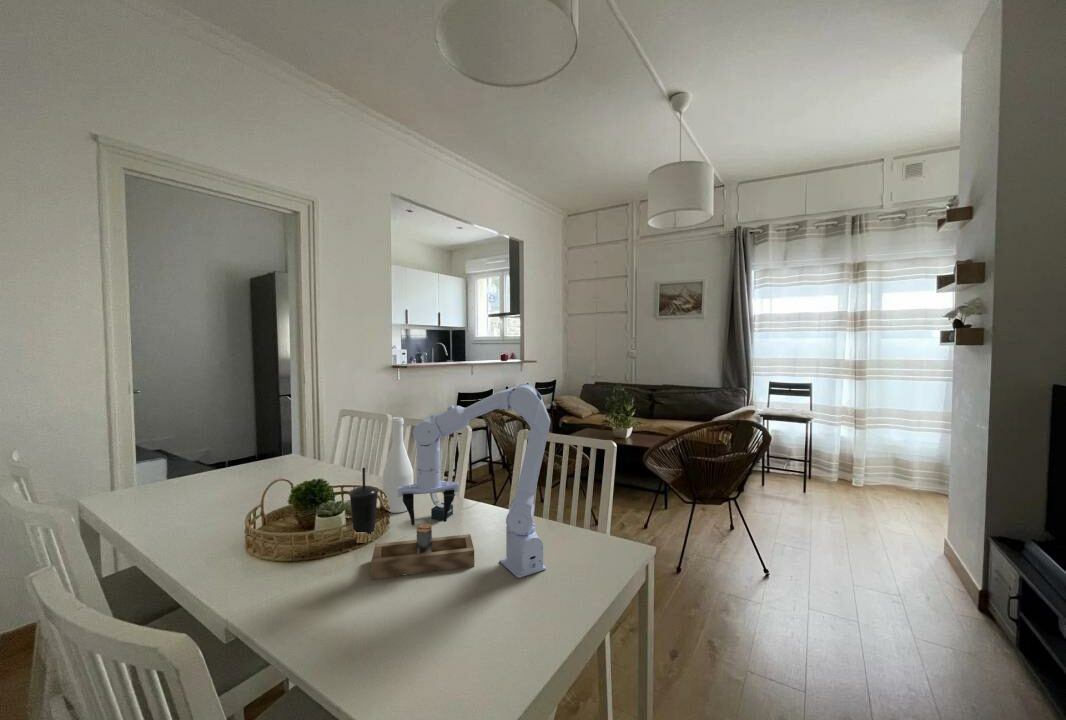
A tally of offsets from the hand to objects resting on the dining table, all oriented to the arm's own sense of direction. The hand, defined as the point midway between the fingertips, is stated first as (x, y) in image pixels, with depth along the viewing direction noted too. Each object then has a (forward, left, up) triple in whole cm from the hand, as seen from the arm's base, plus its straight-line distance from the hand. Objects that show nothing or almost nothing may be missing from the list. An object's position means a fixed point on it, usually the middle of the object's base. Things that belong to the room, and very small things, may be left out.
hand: (429, 521), depth 106 cm
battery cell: (0, +1, -9) cm, 9 cm away
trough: (0, +1, -10) cm, 10 cm away
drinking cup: (+21, +11, -10) cm, 26 cm away
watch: (+25, -13, -10) cm, 29 cm away
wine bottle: (+39, -3, -10) cm, 40 cm away
